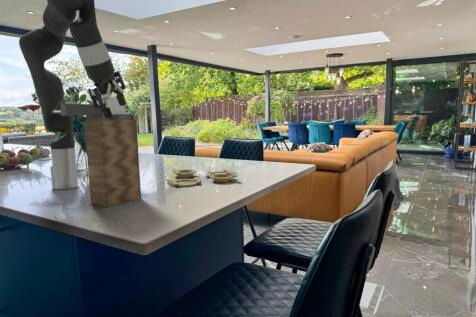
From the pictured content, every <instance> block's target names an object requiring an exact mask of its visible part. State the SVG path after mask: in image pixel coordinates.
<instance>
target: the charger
mask: <svg viewBox="0 0 476 317" xmlns="http://www.w3.org/2000/svg"><path fill="white" fill-rule="evenodd" d="M103 103H104V100H103ZM97 104H99V102H98V101H97ZM108 106H109V107H110V110H111V112H112V115H120V114H126V105H125V106H120V105H119V103H118V100H117V98H116V96H110V99H109V100H108ZM59 107H60V111H61V116H68V115H72V116H86V115H104V114H103V112H102V109H101V108H97V109H95V107H94V105H93V103H90V104H88V103H86V104H85V103H84V104H83V103H63V104H62V103H60V104H59Z"/></svg>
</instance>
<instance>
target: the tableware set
mask: <svg viewBox="0 0 476 317" xmlns="http://www.w3.org/2000/svg"><path fill="white" fill-rule="evenodd" d="M171 170H172V171H173V172H172V174H174V175H176V176H177V178H178V177H179V178H178V179H173V178H167V179H165V182H167V183H169V185H170V186H173V187H185V188H186V187H192V186H196V185H199V184H200V183H201V182H200V181H201V180H200V177H199V176H195V177H194V178H192V177H193V175H194V174H196V173H197V172H198V171H197V170H195V169H188V168H186V169H185V168H183V169H177V168H174V167H173V168H172V169H171ZM215 173H226V174H215ZM212 174H213V175H212ZM237 174H238V173H237V172H235V171H231V170H228V169H223V170H221V171H220V170H219V171H211V170H207V171H206V174H205V178H209V179H212V180H213V182H214V183H217V182H225V183H229V182H230V181H231V180H232V179H234V178H238V175H237ZM189 177H190V178H189Z"/></svg>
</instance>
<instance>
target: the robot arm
mask: <svg viewBox="0 0 476 317" xmlns="http://www.w3.org/2000/svg"><path fill="white" fill-rule="evenodd" d="M46 4H47V5H46V6H45V9H44V11H43V13H42V22H43V26H40V27H37V28H35V29H33V30H31V31H29V32H27V33H25V34H23V35H22V36H21V37H20V38H19V40H18V43H19V44H18V45H19V49H20V51H21V53H22V55H23V56H22V57H23V58H24V61H25V62H26V65H27V68H28V69H29V72H30V76H31V79H32V82H33V87H34V91H35V94H36V97H37V100H38V101H39V102H38V104H40V106H39V107H40V109H41V114H42V120H43V125H44V128H45V130H46V131H47V132H48V133H65V134H64V135H63V136H62V137H61V138H58V139H55V140H54V141H53V140H52V141H51V142H50V155H51V164H52V165H51V166H50V177H51V178H50V179H51V180H50V181H51V188H52V189H55V190H69V189H74V188H75V189H76V188H77V187H79V183H78V182H79V181H78V170H77V169H78V168H77V158H76V148H75V147H76V146H75V138H74V115H68V116H61V110H56V108H57V107H58V106H60V104H62V102H63V100H64V97H65V89H64V85H63V81H62V80H61V77H60V76H58V75H57V74H56V73H54V72H52V71H50V70H48V69H47V68H45V62H47V61H49V60H50V59H52V58H54V57H56V56H57V55H58V54H60V53H61V52H62V50H63V47H64V43H65V40H66V39H65V38H66V35H67V33H68V30H69V32H70V35H71V37H72V39H73V42H74V44H75V46H76V49H77V52H78V57H79V58H80V60H81V63H82V65H83V68H84V70H85V73H86V75H87V77H88V79H89V80H90V81H92V82H93V85H94V86H93V87H91V88H90V87H89V88H88V89H87V92H88V95H89V97H90V99H91V102H92V104H93V105H94V107H95V109H97V108H101V109H102V112H103V114H104V117H105V118H106V119H112V118H113V115H112V112H111V110H110V107H109V106H108V100H109V99H110V97H111V95H112V93H114V94H115V97H116V98H117V100H118V103H119V105H120V106H125V107H126V106H127V101H126V98H125V95H124V92H125V91H124V90H126V85H125V81H124V80H123V78H122V75H121V72H120V71H119V70H115V66H114V65H113V62H112V59H111V56H110V54H109V51H108V48H107V46H106V44H105V43H104V40H103V37H102V36H101V33H100V29H99V28H98V23H97V14H96V6H95V5H96V4H95V0H46ZM77 12H78V18H77V19H76V17H77ZM103 100H104V103H103ZM97 101H98V102H99V104H97Z"/></svg>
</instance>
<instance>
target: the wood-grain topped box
mask: <svg viewBox="0 0 476 317" xmlns="http://www.w3.org/2000/svg"><path fill="white" fill-rule="evenodd" d="M83 123H84V133H85V134H84V135H85V146H86V157H87V158H86V159H87V168H88V169H87V170H88V181H89V182H88V185H89V193H90V203H91V204H94V205H97V206H100V207H103V208H109V207H113V206H117V205H120V204H121V205H122V204H125V203H129V202H133V201H136V200H142V191H141V190H142V189H141V175H140V171H141V170H140V158H139V157H140V156H139V143H138V142H139V141H138V124H137V119H135V114H134V113H133V114H132V113H131V114H129V113H125V114H120V115H113V118H112V119H106V118H105V117H104V115H85V120H84V122H83Z"/></svg>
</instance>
